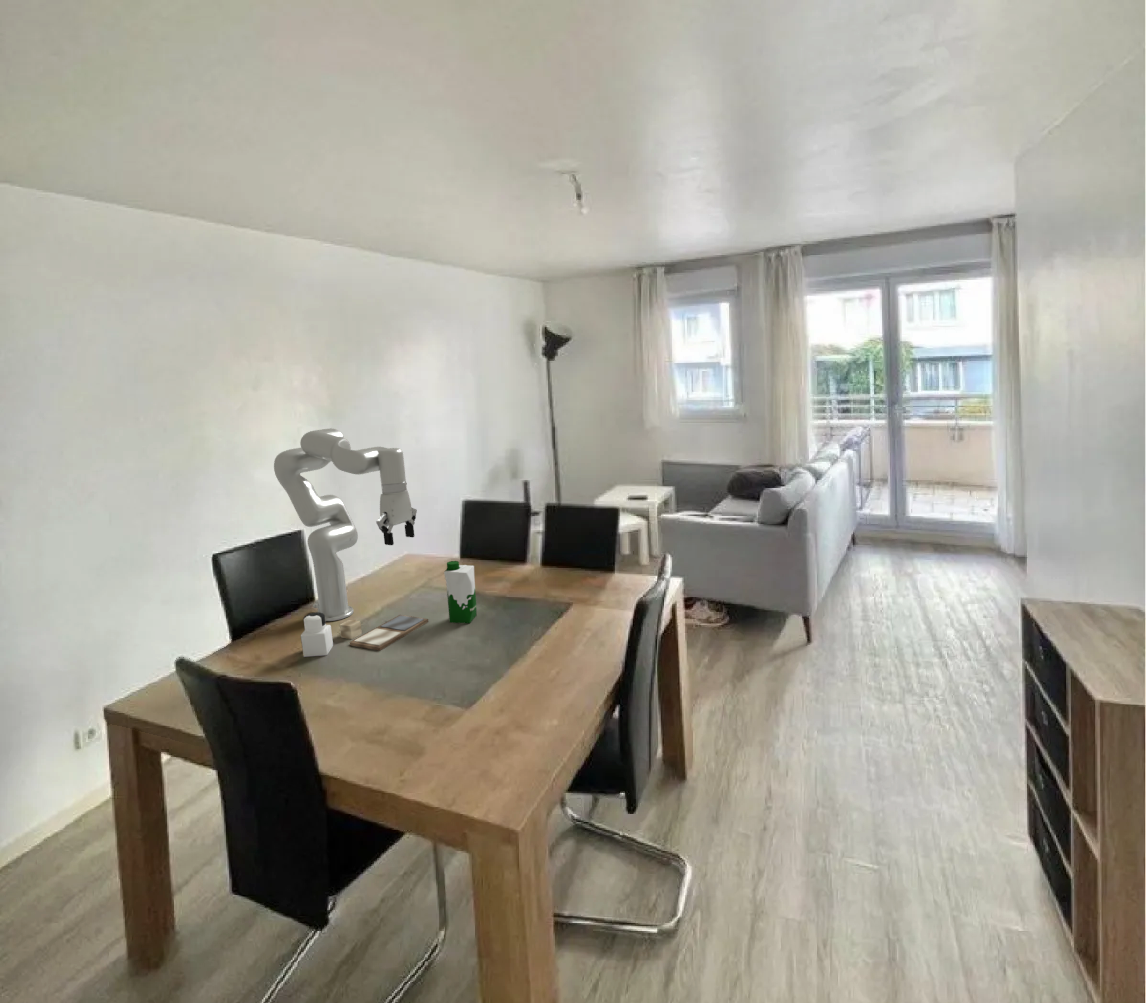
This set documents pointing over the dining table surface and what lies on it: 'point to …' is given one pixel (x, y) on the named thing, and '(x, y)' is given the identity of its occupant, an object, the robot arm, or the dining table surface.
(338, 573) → the robot arm
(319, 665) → the dining table surface
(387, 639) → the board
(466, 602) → the fresh milk carton
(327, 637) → the medicine bottle
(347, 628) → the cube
